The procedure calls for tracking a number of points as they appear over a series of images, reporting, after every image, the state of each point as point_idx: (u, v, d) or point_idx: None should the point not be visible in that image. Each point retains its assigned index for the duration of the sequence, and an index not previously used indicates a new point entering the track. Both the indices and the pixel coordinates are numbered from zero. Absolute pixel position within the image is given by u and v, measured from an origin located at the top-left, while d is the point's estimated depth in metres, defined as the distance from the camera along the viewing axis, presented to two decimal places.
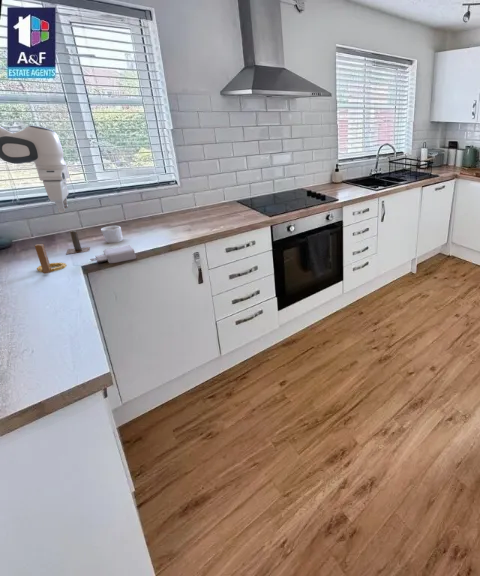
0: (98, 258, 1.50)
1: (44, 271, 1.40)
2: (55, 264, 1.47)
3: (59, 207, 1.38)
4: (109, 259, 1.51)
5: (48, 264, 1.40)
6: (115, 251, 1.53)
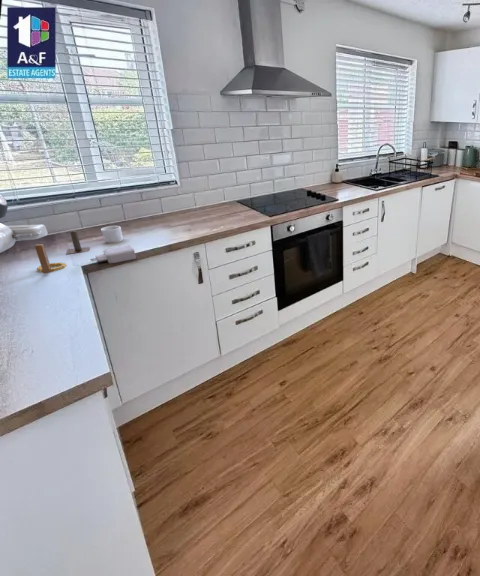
0: (98, 258, 1.50)
1: (44, 271, 1.40)
2: (55, 264, 1.47)
3: None
4: (109, 259, 1.51)
5: (48, 264, 1.40)
6: (115, 251, 1.53)
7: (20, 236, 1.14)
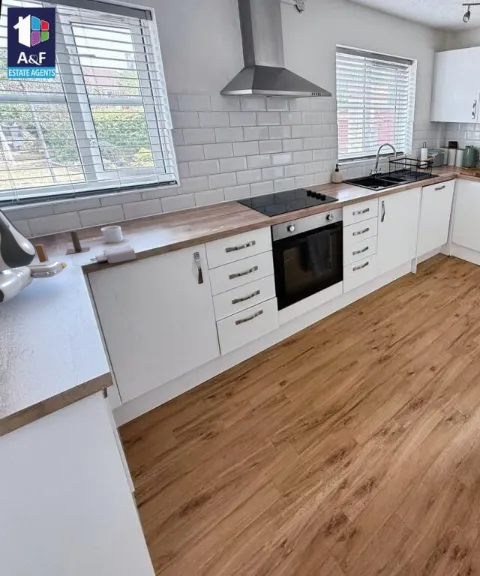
0: (98, 258, 1.50)
1: None
2: None
3: None
4: (109, 259, 1.51)
5: None
6: (115, 251, 1.53)
7: (38, 275, 1.22)
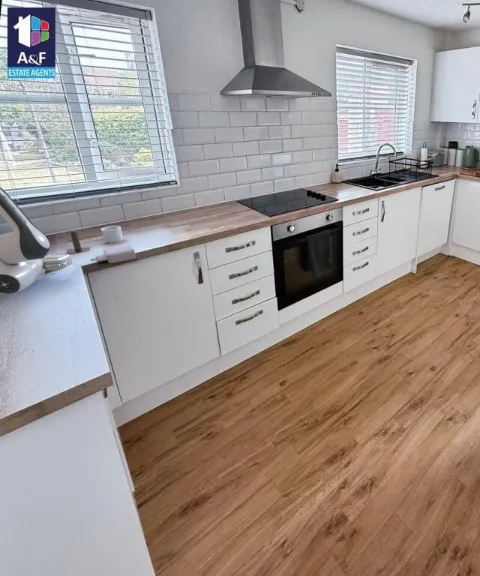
0: (98, 258, 1.50)
1: None
2: None
3: None
4: (109, 259, 1.51)
5: None
6: (115, 251, 1.53)
7: (50, 267, 1.30)
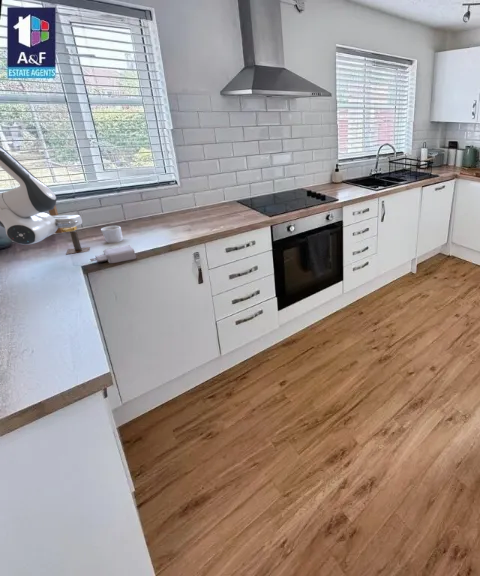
0: (98, 258, 1.50)
1: (56, 231, 1.49)
2: None
3: None
4: (109, 259, 1.51)
5: None
6: (115, 251, 1.53)
7: (62, 224, 1.39)
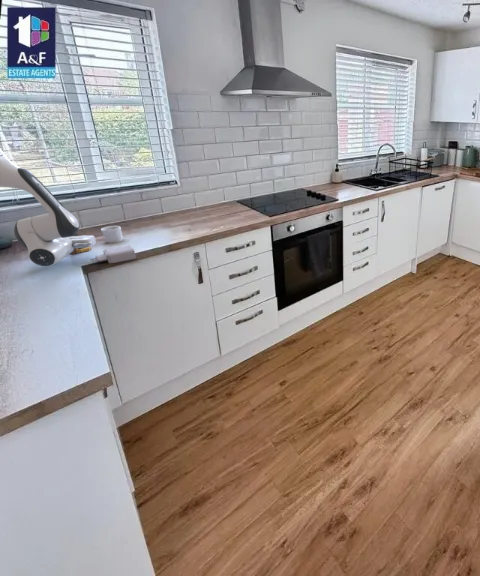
0: (98, 258, 1.50)
1: (72, 251, 1.59)
2: None
3: None
4: (109, 259, 1.51)
5: None
6: (115, 251, 1.53)
7: (77, 245, 1.49)
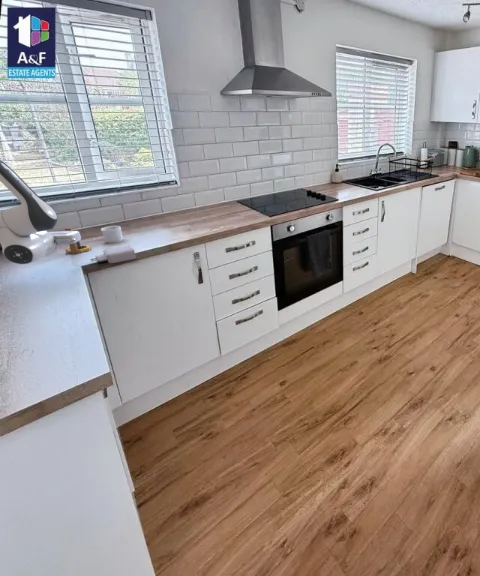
0: (98, 258, 1.50)
1: (72, 251, 1.59)
2: (81, 246, 1.67)
3: None
4: (109, 259, 1.51)
5: (75, 245, 1.59)
6: (115, 251, 1.53)
7: (60, 241, 1.36)
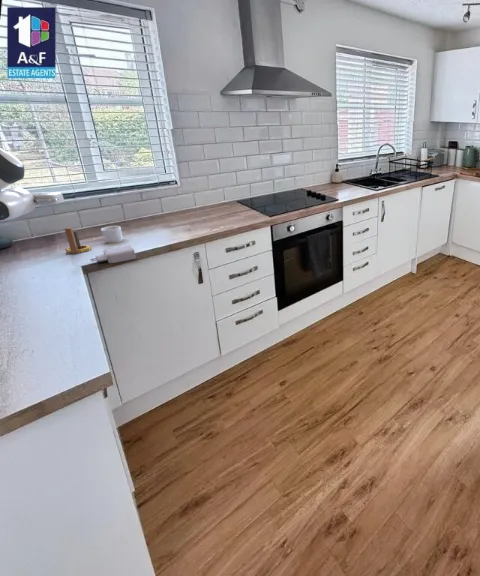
0: (98, 258, 1.50)
1: (72, 251, 1.59)
2: (81, 246, 1.67)
3: None
4: (109, 259, 1.51)
5: (75, 245, 1.59)
6: (115, 251, 1.53)
7: (40, 201, 1.28)
